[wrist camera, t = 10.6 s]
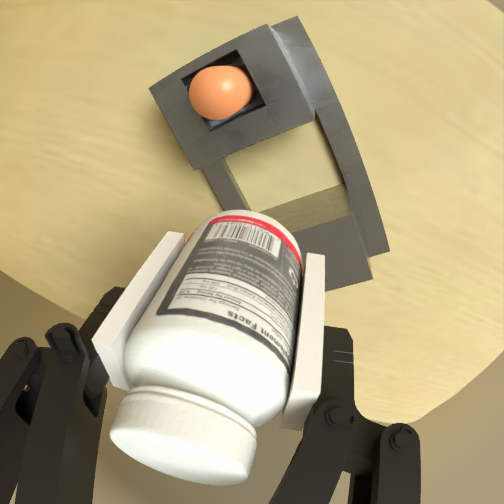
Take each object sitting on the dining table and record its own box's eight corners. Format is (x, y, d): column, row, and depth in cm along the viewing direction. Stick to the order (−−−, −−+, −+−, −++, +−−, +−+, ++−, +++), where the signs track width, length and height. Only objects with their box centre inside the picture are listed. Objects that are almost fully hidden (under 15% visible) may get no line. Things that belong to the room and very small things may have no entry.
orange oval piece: (206, 77, 21) (179, 82, 17) (245, 57, 20) (227, 56, 16) (226, 115, 23) (204, 128, 19) (266, 97, 21) (253, 105, 17)
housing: (160, 86, 24) (124, 95, 19) (297, 17, 19) (292, 3, 14) (267, 280, 34) (257, 321, 29) (388, 246, 29) (399, 286, 24)
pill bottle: (244, 315, 17) (192, 491, 9) (169, 248, 15) (63, 421, 8) (328, 268, 14) (316, 489, 6) (247, 180, 13) (136, 400, 5)
